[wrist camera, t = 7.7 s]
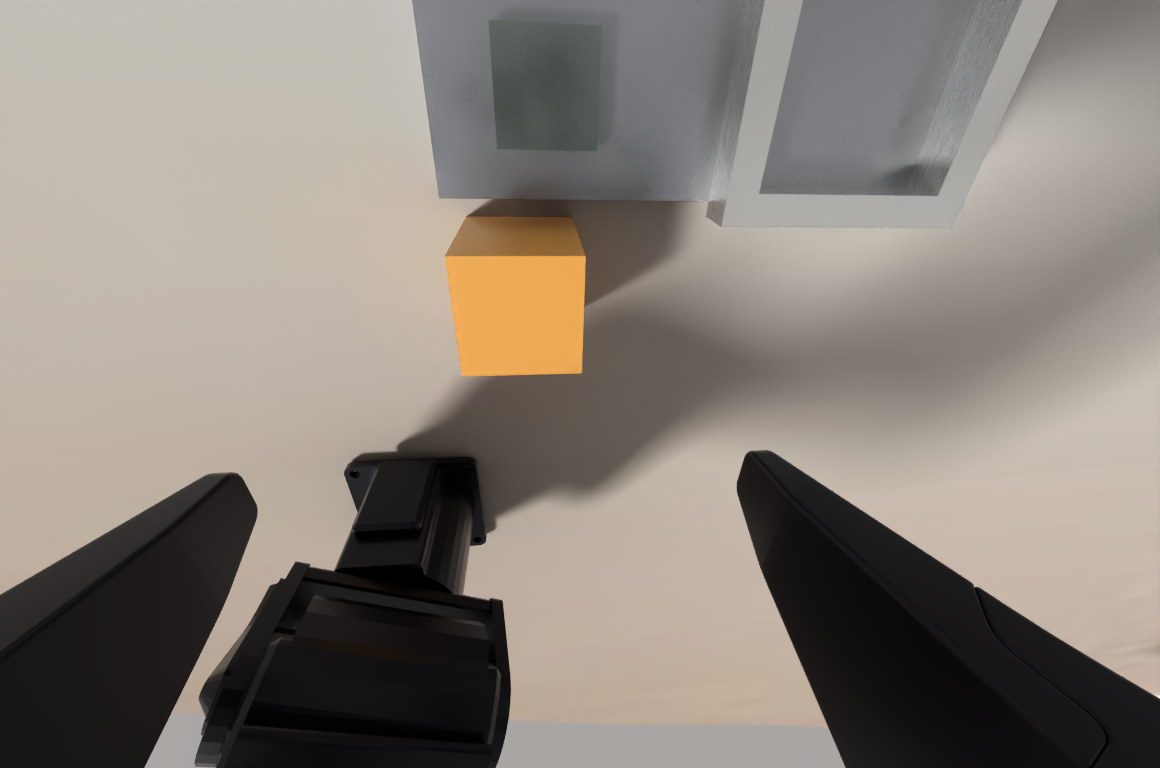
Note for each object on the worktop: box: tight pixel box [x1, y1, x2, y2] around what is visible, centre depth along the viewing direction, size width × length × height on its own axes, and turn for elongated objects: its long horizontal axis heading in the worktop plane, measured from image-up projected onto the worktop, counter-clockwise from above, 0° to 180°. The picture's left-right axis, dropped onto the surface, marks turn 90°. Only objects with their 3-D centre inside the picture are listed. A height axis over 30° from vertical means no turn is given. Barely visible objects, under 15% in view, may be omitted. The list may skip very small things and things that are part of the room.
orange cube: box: [445, 216, 586, 376], centre depth 16 cm, size 4×4×5 cm
